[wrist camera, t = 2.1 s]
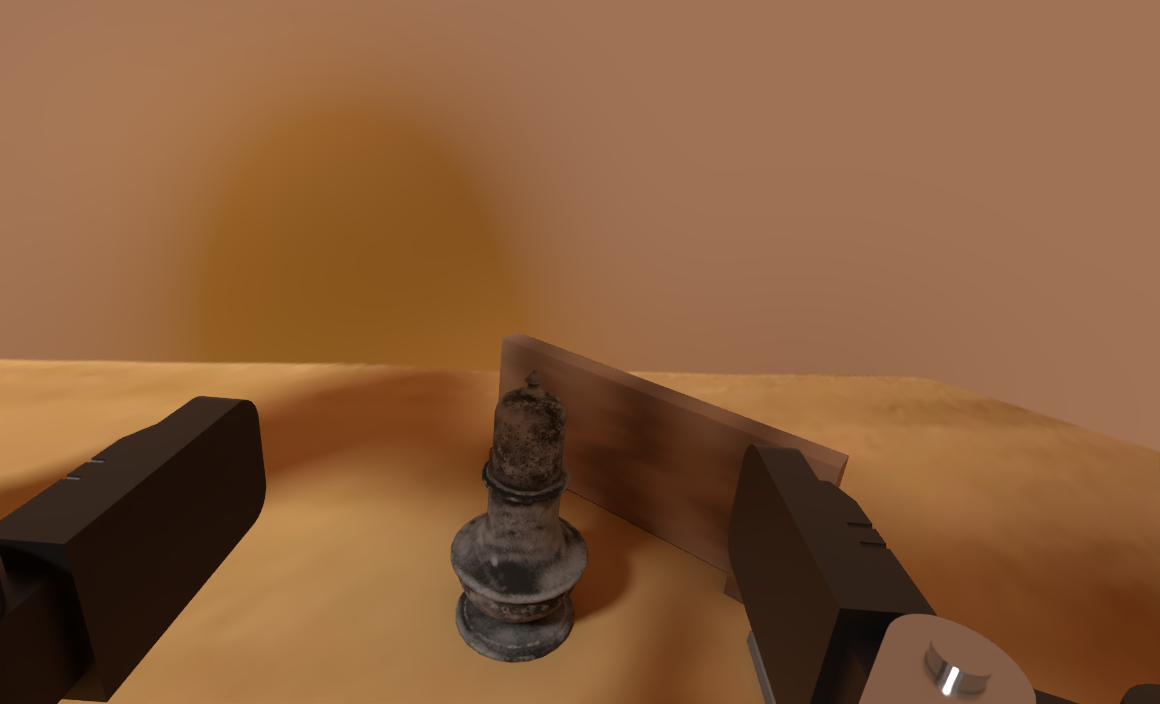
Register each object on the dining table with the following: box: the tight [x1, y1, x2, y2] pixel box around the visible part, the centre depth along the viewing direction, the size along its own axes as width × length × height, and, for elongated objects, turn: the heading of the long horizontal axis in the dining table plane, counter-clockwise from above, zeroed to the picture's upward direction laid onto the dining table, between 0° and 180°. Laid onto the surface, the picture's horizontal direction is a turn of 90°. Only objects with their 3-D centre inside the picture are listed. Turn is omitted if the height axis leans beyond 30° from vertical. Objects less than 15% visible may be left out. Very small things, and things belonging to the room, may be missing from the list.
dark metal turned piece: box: [451, 370, 588, 663], centre depth 25 cm, size 6×6×12 cm
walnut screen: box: [489, 333, 849, 603], centre depth 33 cm, size 20×4×8 cm, turn 54°
